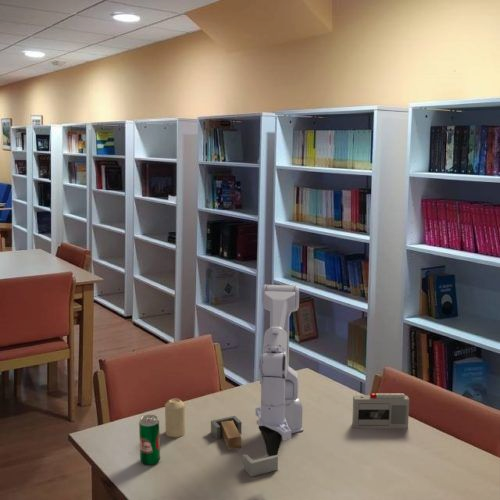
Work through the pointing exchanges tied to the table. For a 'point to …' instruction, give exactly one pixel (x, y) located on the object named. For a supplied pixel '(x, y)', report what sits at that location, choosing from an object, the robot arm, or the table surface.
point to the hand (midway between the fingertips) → (272, 454)
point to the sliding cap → (260, 464)
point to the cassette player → (380, 410)
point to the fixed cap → (217, 425)
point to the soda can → (149, 440)
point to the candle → (175, 418)
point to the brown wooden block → (230, 435)
